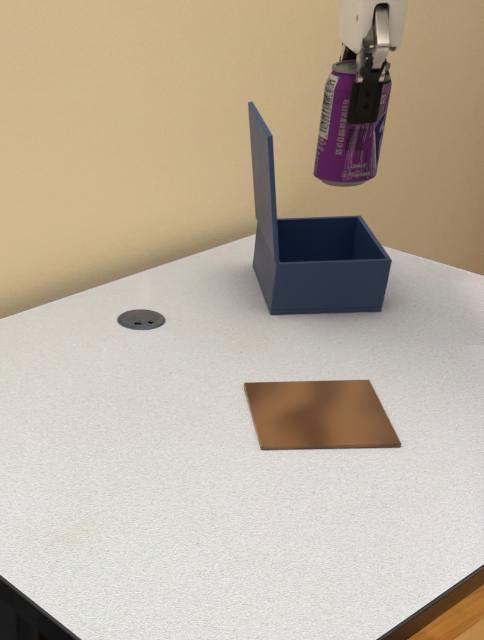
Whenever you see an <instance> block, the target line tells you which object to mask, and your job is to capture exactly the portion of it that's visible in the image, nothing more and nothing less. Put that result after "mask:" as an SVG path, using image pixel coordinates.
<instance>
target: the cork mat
mask: <svg viewBox="0 0 484 640" xmlns="http://www.w3.org/2000/svg"><path fill="white" fill-rule="evenodd" d="M243 388H244V392H245V396H246V399H247V403H248V407H249V410H250V414H251V418H252V422H253V425H254V429H255V433H256V436H257V440H258V443H259V447H260V450H303V449H304V450H305V449H306V450H307V449H308V450H309V449H310V450H311V449H354V448H355V449H356V448H357V449H358V448H359V449H360V448H401V446H402V442H401V440H400V438H399V436H398V434H397V432H396V430H395V429H394V427H393V425H392V423H391V420H390V419H389V416H388V414H387V413H386V410H385V408H384V406H383V405H382V402H381V400H380V399H379V396H378V394H377V393H376V390H375V388H374V386H373V385H372V383H371V381H370V379H339V380H338V379H336V380H335V379H334V380H333V379H331V380H300V381H299V380H297V381H296V380H295V381H294V380H293V381H257V382H253V381H251V382H243Z"/></svg>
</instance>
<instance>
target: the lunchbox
mask: <svg viewBox="0 0 484 640" xmlns="http://www.w3.org/2000/svg"><path fill="white" fill-rule="evenodd" d="M256 221H257V220H256ZM277 226H278V246H279V261H274V259H273V257H272V254H271V252H270V250H269V247H268V245H267V243H266V240H265V238H264V235H263V233H262V231H261V228H260V226H259V224H258V221H257V222H256V230H255V238H254V249H253V259H252V269H253V271H254V274H255V276H256V277H255V278H256V279H257V282H258V285H259V288H260V290H261V293H262V296H263V299H264V302H265V304H266V306H267V309H268V313H269V315H270V316H271V315H299V314H300V315H301V314H305V315H306V314H334V313H335V314H337V313H338V314H339V313H366V312H367V313H369V312H372V313H373V312H382V310H383V307H384V301H385V295H386V291H387V286H388V281H389V278H390V277H389V276H390V271H391V267H392V262H393V261H392V258H391V257H390V255H389V254H388V252H387V251H386V249H385V248H384V247H383V245H382V243H380V241H379V239H378V238H377V237H376V235H375V234H374V232H373V231H372V229H371V228H370V227H369V225H368V224H367V222H366V221H365V220H364V217H362V215H360V214H359V215H337V216H310V217H308V216H307V217H283V218H282V217H281V218H277Z"/></svg>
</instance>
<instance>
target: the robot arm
mask: <svg viewBox="0 0 484 640" xmlns="http://www.w3.org/2000/svg"><path fill="white" fill-rule="evenodd" d="M408 1H409V0H341V7H340V14H339V24H338V38H339V40H340V42H341V46H342V47H341V51H340V54H339V59H338V62H340V61H345V60H356V59H357V61H356V82H352V85H351V92H350V99H349V106H348V112H347V119H346V120H347V122H348V123H349V124H363V123H375V122H376V121H377V118H378V113H379V107H380V101H381V95H382V89H383V83H384V77H385V66H386V64H387V62H388V61H387V60H388V58H387V56H388V54H389V51H390V52H397V51H398V50H399V49H400V48H401V46H402V43H403V36H404V30H405V23H406V16H407V15H406V14H407V9H408ZM371 46H372V47H371ZM364 59H367V60H366V63H365V66H364Z"/></svg>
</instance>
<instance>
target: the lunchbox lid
mask: <svg viewBox="0 0 484 640" xmlns="http://www.w3.org/2000/svg"><path fill="white" fill-rule="evenodd" d="M247 109H248V110H247V111H248V124H249V125H248V126H249V140H250V155H251V169H252V183H253V199H254V213H255V219H256V221H258V224H259V226H260V228H261V231H262V233H263V235H264V238H265V240H266V243H267V245H268V247H269V250H270V252H271V254H272V257H273V259H274V261H279V246H278V226H277V219H278V210H277V193H276V192H277V191H276V173H275V171H276V170H275V156H274V155H275V152H274V136H273V133H272V131H271V130H270V129H269V127H268V125H267V124H266V122H265V120H264V118H263V117H262V115H261V113H260V111H259V110H258V107H256V105H255V103H254V102H253V101H248V102H247Z"/></svg>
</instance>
